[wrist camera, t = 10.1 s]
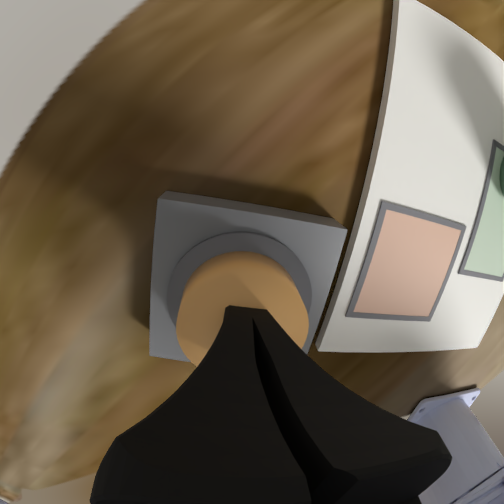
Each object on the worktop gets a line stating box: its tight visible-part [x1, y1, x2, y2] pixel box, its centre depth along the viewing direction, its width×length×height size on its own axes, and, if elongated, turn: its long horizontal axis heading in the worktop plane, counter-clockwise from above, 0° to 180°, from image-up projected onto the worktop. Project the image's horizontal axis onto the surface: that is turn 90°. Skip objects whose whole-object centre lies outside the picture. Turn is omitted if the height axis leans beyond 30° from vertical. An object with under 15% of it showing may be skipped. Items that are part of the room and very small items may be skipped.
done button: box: [176, 251, 309, 366], centre depth 11 cm, size 4×4×2 cm
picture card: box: [315, 0, 504, 352], centre depth 13 cm, size 18×13×1 cm
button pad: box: [150, 191, 347, 362], centre depth 12 cm, size 7×7×2 cm
